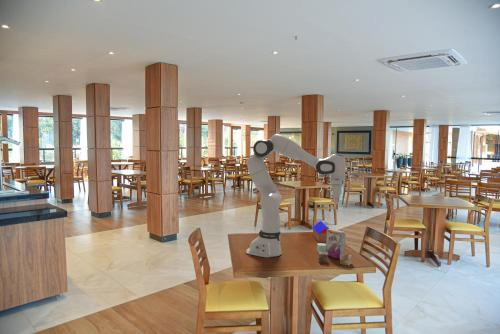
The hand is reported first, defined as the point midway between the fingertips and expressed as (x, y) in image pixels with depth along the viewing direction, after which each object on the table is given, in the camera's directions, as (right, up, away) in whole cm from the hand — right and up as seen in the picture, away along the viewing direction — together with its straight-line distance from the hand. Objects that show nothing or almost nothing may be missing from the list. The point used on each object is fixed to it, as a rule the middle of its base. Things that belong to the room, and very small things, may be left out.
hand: (337, 202), depth 211 cm
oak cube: (+2, -34, -13) cm, 36 cm away
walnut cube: (-10, -34, -8) cm, 36 cm away
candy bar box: (-1, -33, 0) cm, 33 cm away
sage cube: (-7, -33, +10) cm, 35 cm away
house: (0, -31, +41) cm, 51 cm away
